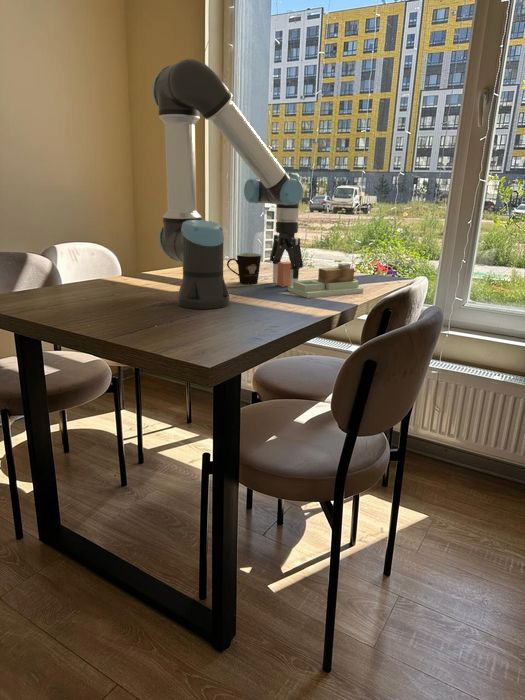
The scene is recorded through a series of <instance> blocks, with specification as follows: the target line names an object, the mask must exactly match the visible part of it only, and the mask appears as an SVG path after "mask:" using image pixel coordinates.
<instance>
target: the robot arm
mask: <svg viewBox="0 0 525 700" xmlns="http://www.w3.org/2000/svg"><path fill="white" fill-rule="evenodd" d="M151 89H152V90H151V93H152V98H153V100H154V102H155V104H156V106H157V107H158V118H159V120H160V121H162V123H163V124H164V141H165V142H164V143H165V144H164V145H165V168H166V169H165V171H166V193H167V194H166V195H167V197H166V198H167V211H166V212H165V213H164V214H163V215H162V221H163V222H162V224H163V226H162V227H161V229H160V230H159V234H158V243H159V247H160V249H161V251H162V252H163V253H164V255H166V256H167V257H168V258H170V259H172V260H174V261H176V262H181V263H182V280H181V283H180V286H179V288H178V289H179V290H178V293H177V296H176V297H177V305H178V306H180V307H182V308H183V307H184V308H186V309H187V308H188V309H196V310H197V309H198V310H207V309H208V310H210V309H219V308H220V309H221V308H223V307H227V306H229V305H230V295H229V291H228V287H227V284H226V282H225V281H226V280H225V278H224V241H225V236H224V229H223V226H222V225H221V224H219V223H218V222H215V221H212V220H205V219H204V220H203V217H202V215H201V214H200V213H199V212H198V209H197V166H196V165H197V162H196V158H197V157H196V124H197V123H198V122H199V121H200V119H201V115H202V117H203V118H204V119H205V120H210V121H211V122H212V123H213V125H214V126H215V127H216V128H217V129H218V130H219V132H220V133H221V134H222V136H223V137H224V138H225V139H226V141H227V142H228V143H229V144H230V145H231V146H232V148H233V149H234V150H235V151H236V153H237V154H238V155H239V157H240V158H241V159H242V160H243V162H244V163H245V164H246V166H247V167H248V168H249V169H250V170H251V171H252V173H253V174H254V175H255V176H256V177H255V178H248V179H247V180H246V181H245V183H244V186H243V187H244V188H243V195H244V199H245V200H246V201H247V202H248V203H250V204H252V203H253V204H270V205H271V204H272V205H273V204H274V205H276V212H275V214H276V216H275V219H276V220H277V221H276V222H275V232H276V233H278V234H274V235H273V242H272V247H271V252H270V256H269V261H270V262H272V264H273V265H272V266H273V268H272V272H273V273H272V274H273V275H272V283H277V276H278V262H282V261H281V260H282V258H283V255H284V253H285V252H287V255H288V258H289V262H291V266H292V267H291V268H290V269H291V270H290V286H293V282H295V281H299V272H300V269H302V268H303V267H304V264H303V256H302V251H301V250H302V249H301V238H300V237H297V238H295V237H296V236H295V234H297V233H298V232H299V223H298V220H299V213H300V212H299V206H300V202H301V200H302V199H303V196H304V191H305V190H304V186H303V183H302V182H301V181H300V179H301V178H300V175H299V173H297V172H293V173H292V172H286V171H285V169H284V168H283V166H282V165H281V164H280V163H279V161H278V160H277V158H276V157H275V156H274V155H273V153H272V152H271V150H270V149H269V148H268V147H267V145H266V144H265V142H264V141H263V140H262V139H261V137H260V136H259V134H258V133H257V132H256V130H255V129H254V127H253V126H252V125H251V124H250V122H248V120H247V119H246V117H245V116H244V114H243V113H242V112H241V110H240V109H239V107H237V105H236V104H235V103H234V101H233V94H232V92H231V91H230V90H229V88H228V86H227V85H226V84H225V82H223V81H222V78H220V76H218V74H216V72H215V71H214V70H213V69H212V68H210V66H208V65H207V64H206V63H204V62H203V61H200V60H198V59H194V58H185V59H181V60H180V61H178V62H177V63H176V62H175V63H174V64H170V65H167V66H165V67H164V68H162V69H161V70H160V71H159V72H158V73H157V75H155V76H154V79H153V83H152V87H151Z"/></svg>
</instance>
